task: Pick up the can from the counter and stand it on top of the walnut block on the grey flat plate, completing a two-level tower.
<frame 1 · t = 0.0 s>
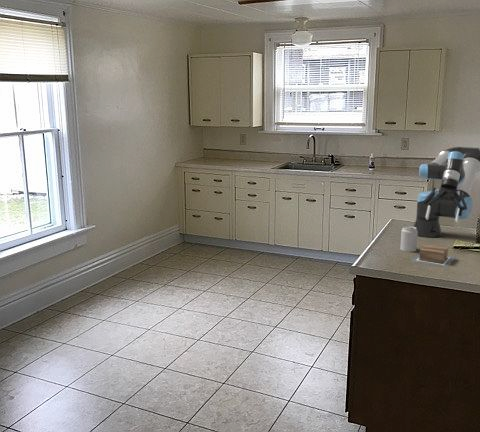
hand: (441, 220, 250), 15 cm above the counter, tool tilted 35°, fingers open, 13 cm apart
grey flat plate: (433, 260, 239), on the counter
walnut block: (433, 259, 239), point 1 cm above the counter, touching grey flat plate
can: (408, 251, 254), on the counter
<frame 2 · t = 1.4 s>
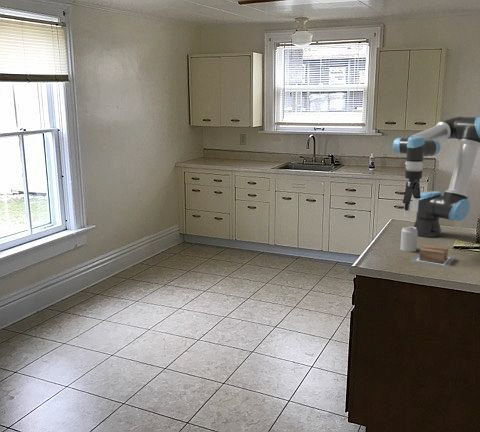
hand: (410, 214, 250), 18 cm above the counter, tool pointing down, fingers open, 13 cm apart
nothing on the counter moved.
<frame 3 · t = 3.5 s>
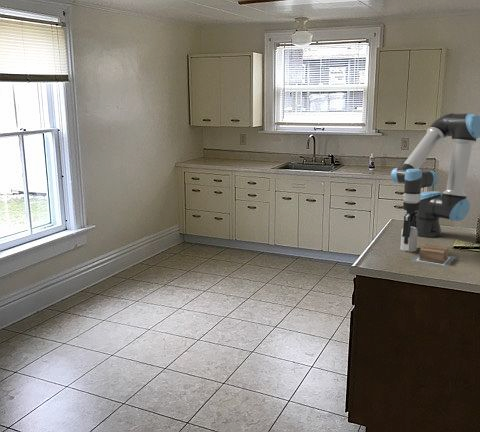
hand: (408, 247, 254), 2 cm above the counter, tool pointing down, fingers closed on can, 7 cm apart
can: (408, 251, 254), on the counter, touching gripper
everything else where it was.
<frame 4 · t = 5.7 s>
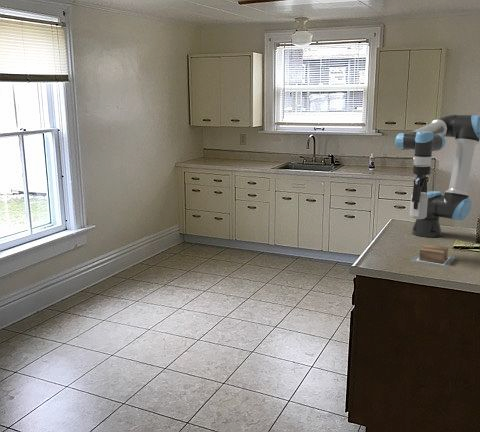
hand: (418, 214, 244), 20 cm above the counter, tool pointing down, fingers closed on can, 7 cm apart
can: (417, 218, 245), point 18 cm above the counter, touching gripper
everything else where it was.
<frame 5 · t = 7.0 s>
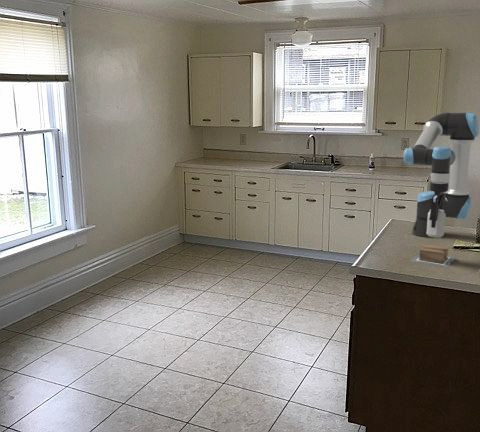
hand: (435, 232, 236), 14 cm above the counter, tool pointing down, fingers closed on can, 7 cm apart
can: (434, 236, 236), point 12 cm above the counter, touching gripper
everything else where it was.
when the fingers open (9 cm above the counter, at t = 8.2 s): can drops 1 cm, resting on walnut block.
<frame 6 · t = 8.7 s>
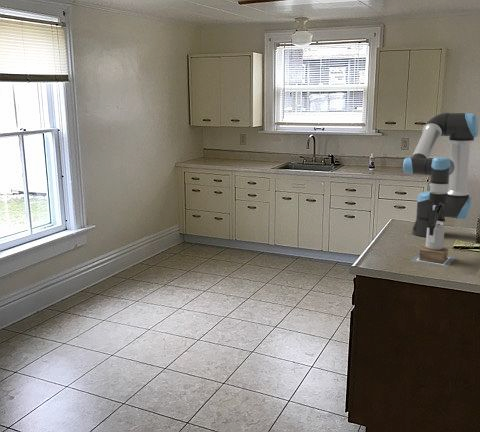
hand: (435, 238, 237), 11 cm above the counter, tool pointing down, fingers open, 13 cm apart
walnut block: (433, 259, 239), point 1 cm above the counter, touching grey flat plate, can
can: (434, 248, 238), point 6 cm above the counter, touching walnut block
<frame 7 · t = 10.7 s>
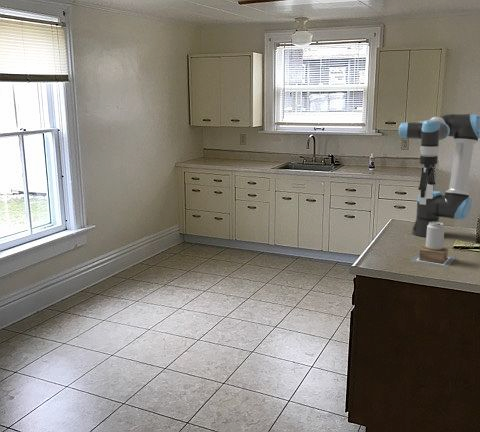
hand: (426, 201, 241), 26 cm above the counter, tool pointing down, fingers open, 13 cm apart
nothing on the counter moved.
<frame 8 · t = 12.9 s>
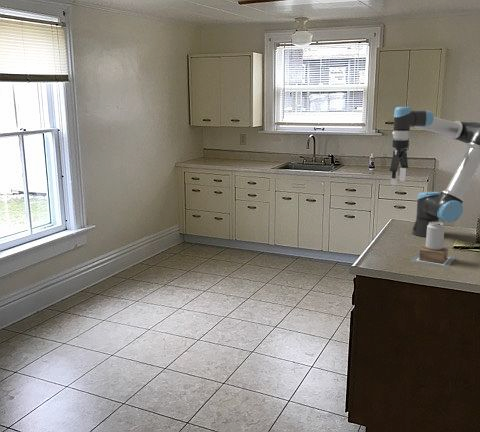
hand: (398, 182, 257), 32 cm above the counter, tool pointing down, fingers open, 13 cm apart
nothing on the counter moved.
at the end: can 0.1 cm off-centre on the walnut block, point 4.8 cm above the walnut block's base; can tilted 0°; the gripper is holding nothing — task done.
